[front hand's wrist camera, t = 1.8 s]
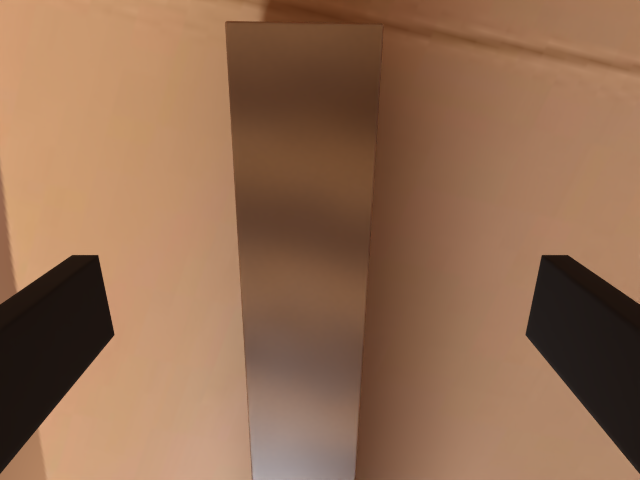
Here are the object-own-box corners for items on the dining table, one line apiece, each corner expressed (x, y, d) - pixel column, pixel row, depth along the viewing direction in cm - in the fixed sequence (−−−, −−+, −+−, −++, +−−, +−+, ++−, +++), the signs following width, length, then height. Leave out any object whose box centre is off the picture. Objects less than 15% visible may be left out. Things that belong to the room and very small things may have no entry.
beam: (258, 42, 21) (224, 20, 14) (362, 44, 21) (384, 23, 14) (278, 624, 39) (268, 751, 32) (335, 625, 39) (338, 753, 32)
